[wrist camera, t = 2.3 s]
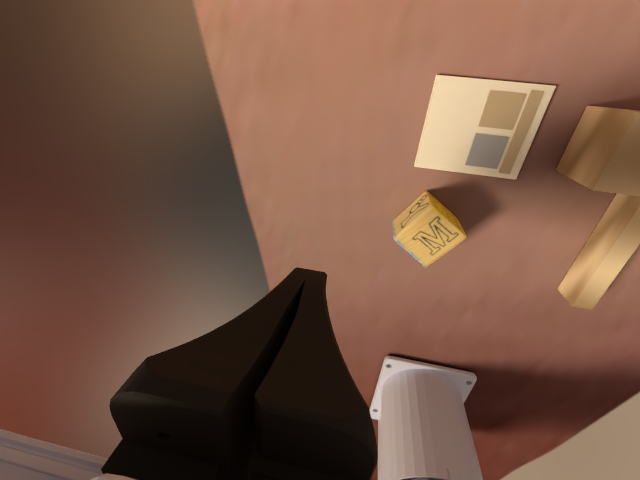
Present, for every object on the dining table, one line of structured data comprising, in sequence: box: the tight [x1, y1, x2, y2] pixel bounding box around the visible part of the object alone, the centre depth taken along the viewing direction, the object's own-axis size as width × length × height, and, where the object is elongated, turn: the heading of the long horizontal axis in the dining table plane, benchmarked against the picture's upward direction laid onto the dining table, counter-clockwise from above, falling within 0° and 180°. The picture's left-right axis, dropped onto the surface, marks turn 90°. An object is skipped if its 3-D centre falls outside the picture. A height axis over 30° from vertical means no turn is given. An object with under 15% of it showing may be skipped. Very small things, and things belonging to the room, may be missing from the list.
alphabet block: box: [392, 191, 467, 268], centre depth 19 cm, size 3×3×3 cm
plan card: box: [414, 75, 556, 180], centre depth 17 cm, size 5×6×1 cm
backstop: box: [558, 194, 640, 310], centre depth 17 cm, size 12×1×2 cm, turn 175°
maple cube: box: [555, 106, 640, 196], centre depth 14 cm, size 4×4×4 cm
